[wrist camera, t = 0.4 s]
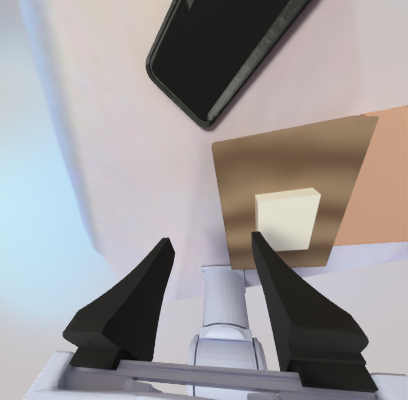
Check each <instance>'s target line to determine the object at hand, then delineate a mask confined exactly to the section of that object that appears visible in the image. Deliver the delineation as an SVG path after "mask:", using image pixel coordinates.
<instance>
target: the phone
mask: <svg viewBox="0 0 408 400" xmlns="http://www.w3.org/2000/svg"><path fill="white" fill-rule="evenodd" d="M310 1H311V0H173V1H172V3H171V6H170V8H169V10H168V12H167V14H166V17H165V19H164V21H163V23H162V25H161V28H160V30H159V32H158V34H157V36H156V39H155V41H154V43H153V45H152V47H151V50H150V52H149V54H148V56H147V59H146V71H147V74H148V76H149V78H150V79H151V80H152V81H153V82H154V83H155V84H156V85H157V86H158V87H159V88H160V89H161V90H162V91H163V92H164V93H165V94H166V95H167V96H168V97H169V98H170V99H171V100H173V101H174V102H175V103H176V104H177V105H178V106H179V107H180V108H181V109H182V110H183V111H184V112H185V113H186V114H187V115H188V116H189V117H190V118H191V119H192V120H193V121H194V122H195V123H197V124H198V125H199V126H201V127H209V126H211V125H212V124H213V123H214V122H215V120H216V119H217V118H218V117H219V115H220V114H221V113H222V112H223V110H224V109H225V108H226V107H227V105H228V104H229V103H230V102H231V100H232V99H233V98H234V97H235V95H236V94H237V93H238V92H239V90H240V89H241V88H242V87H243V85H244V84H245V83H246V82H247V80H248V79H249V78H250V77H251V75H252V74H253V73H254V72H255V70H256V69H257V68H258V67H259V65H260V64H261V63H262V62H263V60H264V59H265V58H266V57H267V55H268V54H269V53H270V52H271V50H272V49H273V48H274V47H275V45H276V44H277V43H278V42H279V40H280V39H281V38H282V37H283V35H284V34H285V33H286V32H287V30H288V29H289V28H290V27H291V25H292V24H293V23H294V22H295V20H296V19H297V18H298V16H299V15H300V14H301V13H302V11H303V10H304V9H305V8H306V6H307V5H308V4H309V3H310Z"/></svg>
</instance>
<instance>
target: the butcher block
mask: <svg viewBox="0 0 408 400" xmlns="http://www.w3.org/2000/svg"><path fill="white" fill-rule="evenodd" d="M378 119H379V117H378V116H350V117H345V118H340V119H335V120H329V121H324V122H319V123H314V124H309V125H303V126H298V127H293V128H288V129H283V130H277V131H272V132H267V133H262V134H256V135H251V136H246V137H241V138H236V139H230V140H225V141H220V142H215V143H212V153H213V159H214V165H215V171H216V177H217V183H218V189H219V195H220V201H221V207H222V214H223V220H224V226H225V232H226V238H227V244H228V250H229V256H230V262H231V268H232V270H247V269H256V265H255V262H254V258H253V253H252V241H251V232H254V231H256V219H255V195H258V194H266V193H274V192H282V191H290V190H298V189H306V188H314V189H315V190H316V191H317V192H319V193H320V194H321V197H320V201H319V205H318V209H317V214H316V218H315V222H314V226H313V230H312V235H311V239H310V243H309V247H308V249H303V250H286V251H275V252H276V253H277V254H278V255H279V257H280V258H281V259H282V260H283V261H284V262H285V263H286V264H287V265H288V266H289V267H290V268H296V267H321V266H326V264H327V261H328V258H329V256H330V253H331V250H332V247H333V244H334V242H335V239H336V236H337V233H338V230H339V228H340V225H341V222H342V219H343V217H344V214H345V211H346V208H347V205H348V203H349V200H350V197H351V194H352V191H353V189H354V186H355V183H356V180H357V177H358V175H359V172H360V169H361V166H362V164H363V161H364V158H365V155H366V152H367V150H368V147H369V144H370V141H371V138H372V136H373V133H374V130H375V127H376V125H377V122H378Z"/></svg>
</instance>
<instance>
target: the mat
mask: <svg viewBox="0 0 408 400" xmlns="http://www.w3.org/2000/svg"><path fill="white" fill-rule="evenodd" d="M361 116H378V117H379V119H378V122H377V125H376V127H375V130H374V133H373V136H372V138H371V141H370V144H369V147H368V150H367V152H366V155H365V158H364V161H363V164H362V166H361V169H360V172H359V175H358V177H357V180H356V183H355V186H354V189H353V191H352V194H351V197H350V200H349V203H348V205H347V208H346V211H345V214H344V217H343V219H342V222H341V225H340V228H339V230H338V233H337V236H336V239H335V242H334V244H333V246H340V245H357V244H373V243H389V242H406V241H408V106H402V107H397V108H392V109H387V110H382V111H376V112H371V113H366V114H361Z"/></svg>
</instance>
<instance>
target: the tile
mask: <svg viewBox="0 0 408 400" xmlns="http://www.w3.org/2000/svg"><path fill="white" fill-rule="evenodd" d="M320 197H321V194H320V193H319V192H317V191H316V190H315V189H314V188H306V189H298V190H290V191H282V192H274V193H266V194H258V195H255V219H256V231H260V232H261V234H262V235H263V237H264V238H265V240H266V241H267V242H268V244H269V245H270V246H271V247H272V249H273V250H274V251H286V250H303V249H308V247H309V243H310V239H311V235H312V230H313V226H314V222H315V218H316V214H317V209H318V205H319V201H320Z"/></svg>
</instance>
